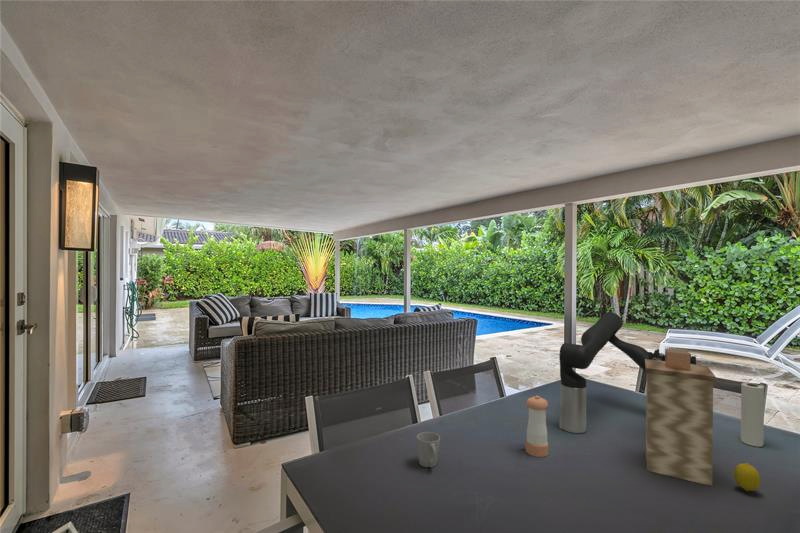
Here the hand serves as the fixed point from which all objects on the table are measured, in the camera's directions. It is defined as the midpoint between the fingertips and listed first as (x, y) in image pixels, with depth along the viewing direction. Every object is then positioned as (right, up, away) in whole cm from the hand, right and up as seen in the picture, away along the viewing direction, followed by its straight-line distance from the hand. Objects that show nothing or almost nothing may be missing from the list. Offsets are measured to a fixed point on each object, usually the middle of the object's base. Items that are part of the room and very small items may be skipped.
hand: (672, 353), depth 136 cm
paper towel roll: (+33, -34, +4) cm, 48 cm away
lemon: (+2, -34, -26) cm, 43 cm away
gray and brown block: (-4, -2, -7) cm, 8 cm away
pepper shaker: (-50, -33, -4) cm, 60 cm away
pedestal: (-9, -33, -14) cm, 37 cm away
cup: (-87, -33, -14) cm, 94 cm away
